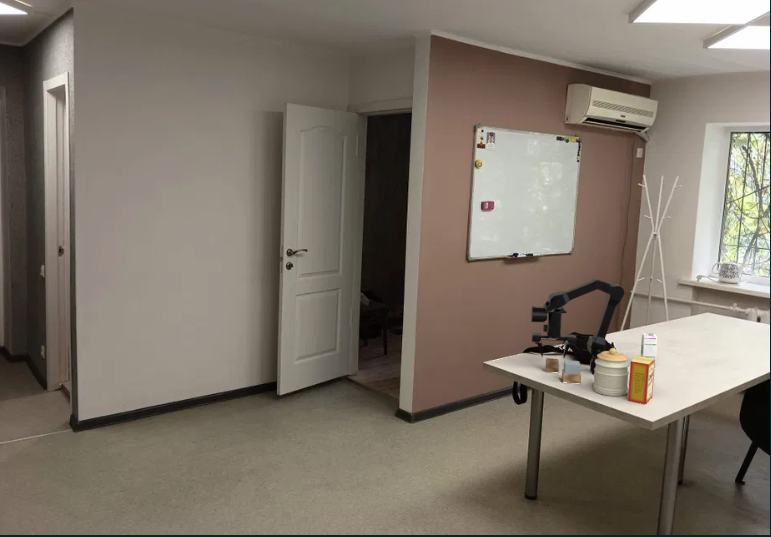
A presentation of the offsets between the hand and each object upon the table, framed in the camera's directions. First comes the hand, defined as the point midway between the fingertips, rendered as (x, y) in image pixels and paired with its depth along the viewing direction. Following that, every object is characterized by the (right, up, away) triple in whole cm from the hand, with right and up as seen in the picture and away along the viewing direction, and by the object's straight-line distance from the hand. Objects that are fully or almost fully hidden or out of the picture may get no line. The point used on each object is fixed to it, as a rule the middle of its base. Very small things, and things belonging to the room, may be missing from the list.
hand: (552, 357), depth 277 cm
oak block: (+4, -8, -12) cm, 15 cm away
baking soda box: (+25, -12, -33) cm, 43 cm away
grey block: (+5, -4, -13) cm, 14 cm away
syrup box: (+45, -5, +9) cm, 47 cm away
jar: (+16, -10, -24) cm, 31 cm away
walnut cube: (0, -6, +1) cm, 6 cm away
